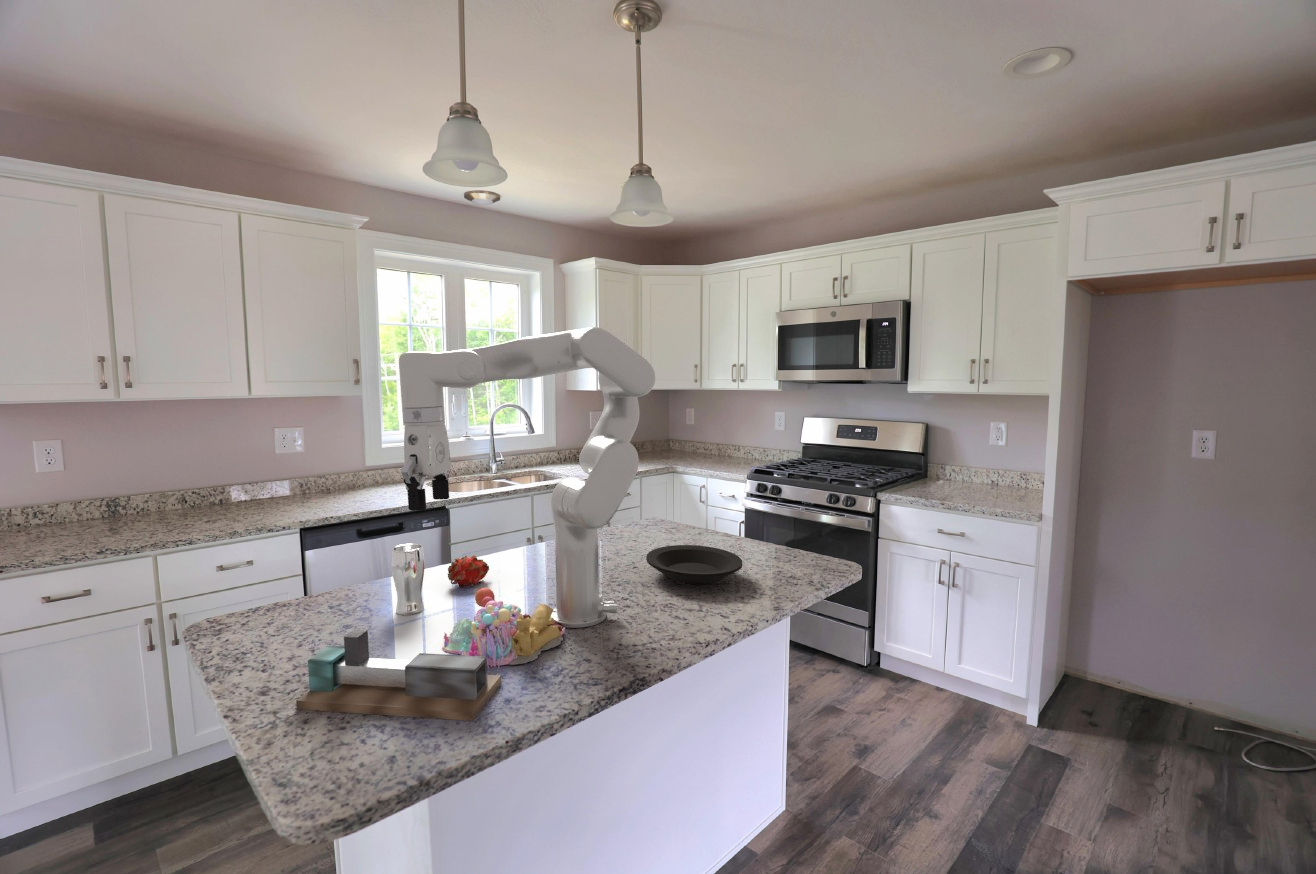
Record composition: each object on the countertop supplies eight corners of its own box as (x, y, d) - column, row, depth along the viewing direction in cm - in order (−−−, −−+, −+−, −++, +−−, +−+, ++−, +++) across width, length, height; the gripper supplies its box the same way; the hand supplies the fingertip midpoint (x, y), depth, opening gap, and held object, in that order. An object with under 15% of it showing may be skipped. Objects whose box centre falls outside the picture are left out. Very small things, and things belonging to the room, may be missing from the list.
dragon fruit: (443, 596, 158) (485, 591, 166) (458, 582, 153) (501, 578, 162) (437, 565, 161) (478, 562, 170) (451, 551, 157) (493, 548, 165)
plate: (763, 584, 161) (763, 563, 160) (689, 603, 148) (689, 580, 147) (696, 558, 184) (696, 540, 184) (628, 573, 171) (627, 553, 170)
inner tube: (437, 679, 106) (435, 633, 105) (428, 689, 103) (426, 641, 102) (334, 673, 108) (331, 628, 107) (322, 682, 105) (319, 635, 104)
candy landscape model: (580, 625, 136) (579, 584, 135) (536, 676, 113) (534, 627, 112) (476, 616, 141) (474, 577, 140) (414, 663, 118) (411, 616, 117)
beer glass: (414, 617, 140) (412, 552, 139) (387, 615, 141) (384, 550, 140) (432, 606, 147) (429, 544, 145) (405, 604, 148) (402, 542, 147)
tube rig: (501, 683, 109) (499, 646, 109) (472, 720, 97) (471, 679, 97) (342, 674, 113) (340, 638, 112) (296, 709, 101) (294, 669, 100)
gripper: (420, 420, 110) (427, 514, 111) (461, 412, 127) (466, 495, 129) (380, 420, 110) (387, 515, 112) (426, 413, 127) (432, 495, 129)
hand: (429, 504), depth 120 cm, fingers open, 9 cm apart
